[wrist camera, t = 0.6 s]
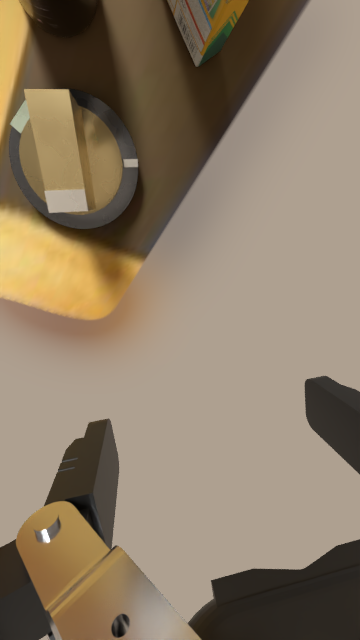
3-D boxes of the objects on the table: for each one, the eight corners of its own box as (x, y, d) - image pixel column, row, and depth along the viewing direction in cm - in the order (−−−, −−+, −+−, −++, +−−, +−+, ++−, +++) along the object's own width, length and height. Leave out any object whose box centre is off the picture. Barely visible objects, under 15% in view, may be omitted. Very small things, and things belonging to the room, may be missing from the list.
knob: (13, 107, 24) (-28, 77, 18) (116, 107, 26) (110, 79, 19) (38, 216, 28) (11, 221, 22) (127, 211, 29) (125, 215, 23)
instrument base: (-7, 169, 28) (-22, 166, 25) (62, 62, 25) (54, 45, 23) (93, 249, 32) (89, 254, 30) (160, 164, 30) (163, 161, 27)
